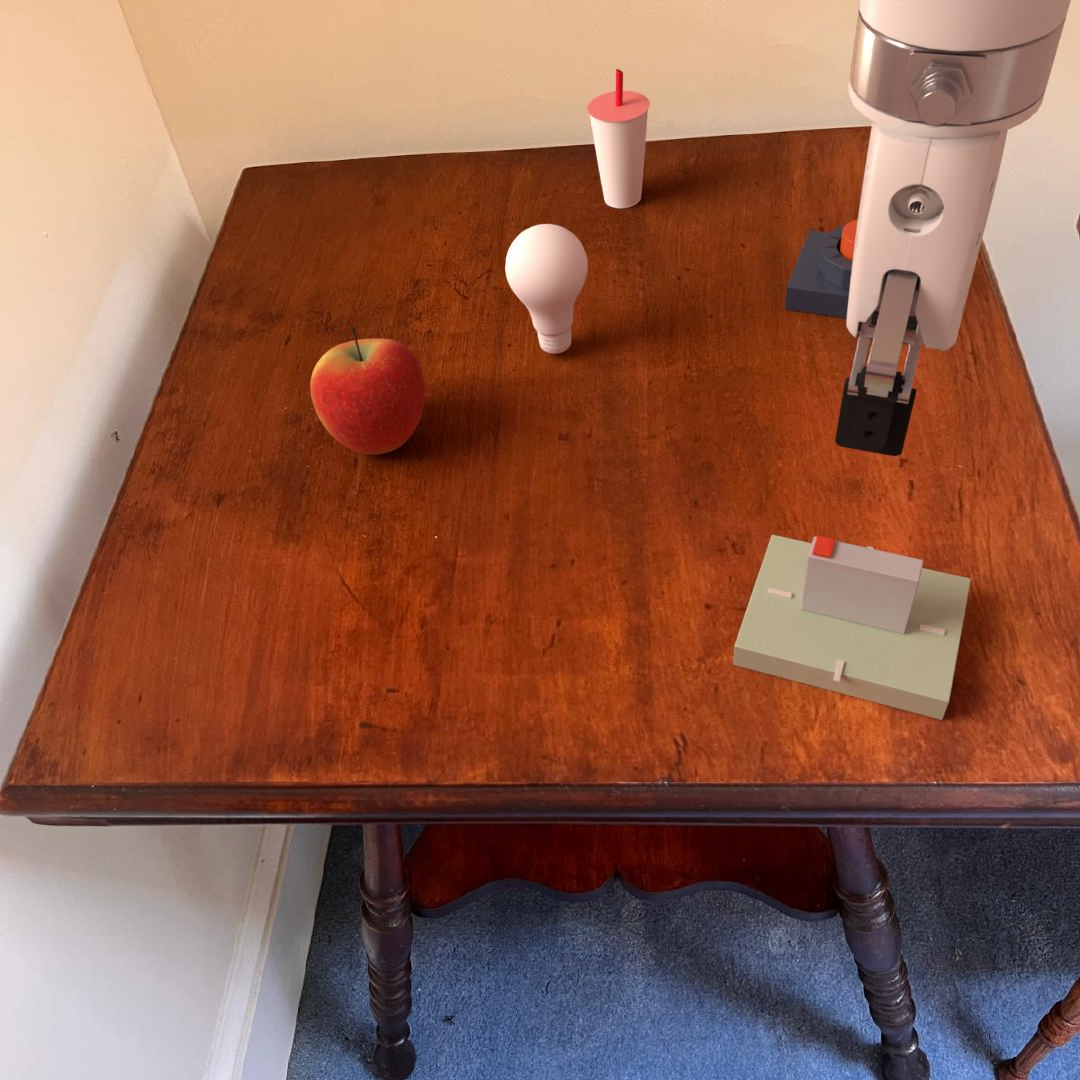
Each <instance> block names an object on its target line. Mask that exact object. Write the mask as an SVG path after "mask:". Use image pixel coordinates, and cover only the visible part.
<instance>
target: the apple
mask: <svg viewBox="0 0 1080 1080" xmlns="http://www.w3.org/2000/svg"><path fill="white" fill-rule="evenodd" d="M348 328H349V330H350V332H351V334H352V336H353V340H350V341H346V342H343V343H339V344H337V345H335V346H333V347H332V348H330V349H329V350H327V351H326V352H325V353H324V354H323V355H322V356H321V357H320V359H319V360H318V361H317V363H316V364H315V366H314V368H313V370H312V374H311V377H310V382H309V388H310V397H311V398H310V399H311V402H312V405H313V408H314V410H315V413H316V416H317V417H318V419H319V421H320V422H321V424H322V425H323V427H324V428H325V430H326V431H327V432H328V433H329V435H330V436H331V437H332V438H334V439H335V440H336V441H337V442H338V443H339V444H341V446H344V447H345V448H347V449H349V450H351V451H353V452H355V453H358V454H362V455H369V456H376V455H383V454H388V453H391V452H392V451H395V450H397V449H399V448H401V447H402V446H403V445H405V443H406V442H407V441H408V440H409V439H410V438H411V437H412V436H413V434H414V433H415V430H416V429H417V427H418V425H419V422H420V419H421V417H422V416H423V410H424V405H425V401H426V400H425V399H426V383H425V378H424V373H423V369H422V367H421V364H420V363H419V360H418V359H417V357H416V356H415V354H414V353H413V352H412V351H411V350H410V348H408V346H406V345H405V344H403V343H401V342H400V341H397V340H394V339H390V338H380V337H379V338H378V337H377V338H375V337H374V338H362V339H358V336H357V331H356V327H355V326H354V325H348Z"/></svg>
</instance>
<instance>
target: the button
mask: <svg viewBox="0 0 1080 1080" xmlns="http://www.w3.org/2000/svg"><path fill="white" fill-rule="evenodd" d="M857 221H858V218H857V219H853V220H851V221H849V222H848V223H846V224H844V225H845V226H844V228H843V231H842V238H841V246H840V253H841V255H842V256H843V257H845V258H847V259H849V260H851V261H853V253H854V245H855V237H856V229H857Z"/></svg>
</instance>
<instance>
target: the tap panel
mask: <svg viewBox="0 0 1080 1080" xmlns="http://www.w3.org/2000/svg"><path fill="white" fill-rule="evenodd" d="M768 541H769V542H768V545H767V548H766V550H765V554H764V557H763V559H762V562H761V565H760V569H759V571H758V574H757V578H756V579H755V583H754V586H753V589H752V592H751V595H750V598H749V601H748V603H747V607H746V610H745V612H744V615H743V616H744V617H743V619H742V622H741V624H740V628H739V631H738V633H737V637H736V639H735V643H734V645H733V659H732V660H733V661H732V663H733V666H737V667H741V668H743V669H748V670H751V671H755V672H758V673H763V674H766V675H769V676H770V675H771V676H774V677H778V678H782V679H785V680H788V681H792V682H796V683H801V684H805V685H808V686H811V687H816V688H819V689H823V690H827V691H831V692H834V693H837V694H841V695H844V696H845V695H846V696H850V697H854V698H855V699H856V698H857V699H861V700H865V701H869V702H872V703H876V704H879V705H882V706H887V707H890V708H894V709H898V710H902V711H906V712H910V713H913V714H916V715H921V716H925V717H928V718H932V719H936V720H939V721H943V719H944V717H945V715H946V711H947V710H948V709H947V708H948V706H949V704H950V700H951V695H952V694H951V693H952V688H953V682H954V676H955V671H956V666H957V660H958V655H959V648H960V645H961V637H962V634H963V633H962V632H963V627H964V621H965V615H966V609H967V604H968V598H969V594H970V593H969V592H970V588H971V581H972V579H971V577H970V578H969V577H966V576H960V575H957V574H952V573H948V572H943V571H939V570H934V569H930V568H925V567H922V571H921V576H920V581H919V584H918V588H917V591H916V595H915V598H914V602H913V606H912V609H911V613H910V616H909V620H908V623H907V627H906V630H905V633H904V634H901V633H897V632H893V631H889V630H885V629H881V628H877V627H873V626H869V625H864V624H860V623H856V622H852V621H848V620H844V619H840V618H836V617H832V616H828V615H823V614H819V613H815V612H811V611H807V610H803V609H801V601H802V594H803V587H804V580H805V573H806V567H807V560H808V555H809V551H810V548H811V545H812V542H807V541H803V540H798V539H794V538H791V537H790V538H789V537H786V536H781V535H776V534H771V535H770V538H769V540H768ZM866 548H871V549H875V548H874V547H873V546H868V545H867V546H866Z"/></svg>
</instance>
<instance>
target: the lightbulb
mask: <svg viewBox="0 0 1080 1080" xmlns="http://www.w3.org/2000/svg"><path fill="white" fill-rule="evenodd" d="M588 265H589V264H588V256H587V253H586V250H585V248H584V246H583V244H582V242H581V241H580V239H579V238H578V237H577V236H576V235H575V234H574V233H573V232H571V231H570V230H568V229H567V228H565V227H564V226H561V225H558V224H553V223H552V224H551V223H540V224H536V225H533V226H530V227H529V228H526V229H525V230H523V231H522V232H520V233H519V234H518V235H517V236H516V237H515V239H514V240H513V241H512V242H511V245H510V246H509V248H508V250H507V254H506V257H505V267H504V270H505V275H506V280H507V283H508V285H509V287H510V289H511V290H512V292H513V293H514V295H515V296H516V297H517V298H518V300H520V302H521V303H522V304H523V305H524V306H525V307H526V309H527V311H528V312H529V315H530V317H531V321H532V326H533V328H534V329H535V331H536V333H537V338H538V343H539V346H540V349H541V350H542V351H543V352H545V353H547V354H550V355H551V354H552V355H556V354H557V355H558V354H561V353H564V352H566V351H567V350H568V349H569V348H570V347H571V344H572V328H571V327H572V326H573V323H574V308H575V303H576V301H577V298H578V297H579V295H580V293H581V291H582V290H583V287H584V285H585V283H586V280H587V277H588V271H589V266H588Z"/></svg>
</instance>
